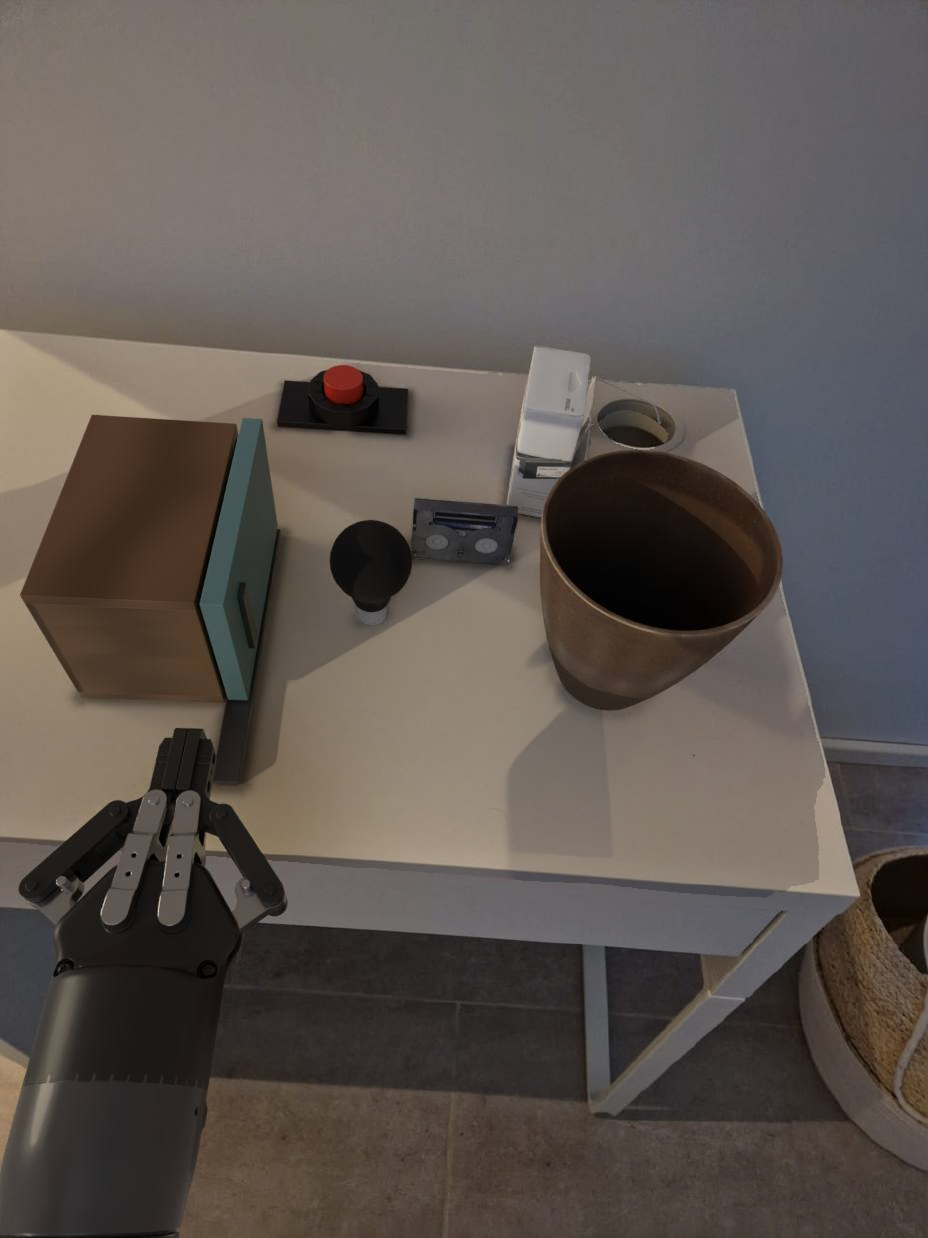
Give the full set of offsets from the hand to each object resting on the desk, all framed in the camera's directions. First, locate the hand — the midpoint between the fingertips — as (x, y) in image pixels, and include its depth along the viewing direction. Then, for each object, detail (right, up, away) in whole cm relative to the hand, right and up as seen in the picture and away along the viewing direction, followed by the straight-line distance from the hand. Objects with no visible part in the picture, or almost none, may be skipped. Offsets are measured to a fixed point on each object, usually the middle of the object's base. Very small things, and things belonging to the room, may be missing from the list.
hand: (191, 734), depth 44 cm
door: (-1, +7, +17) cm, 18 cm away
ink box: (+22, +19, +29) cm, 41 cm away
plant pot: (+26, +2, +18) cm, 31 cm away
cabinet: (-6, +5, +15) cm, 17 cm away
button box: (+4, +27, +32) cm, 42 cm away
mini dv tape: (+15, +12, +23) cm, 30 cm away
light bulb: (+8, +6, +18) cm, 21 cm away
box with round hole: (+30, +22, +32) cm, 49 cm away
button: (+4, +28, +31) cm, 42 cm away
